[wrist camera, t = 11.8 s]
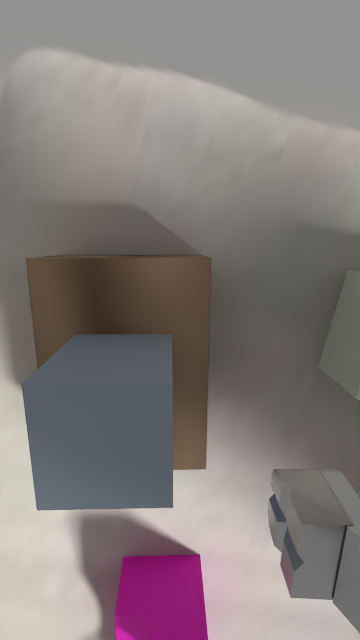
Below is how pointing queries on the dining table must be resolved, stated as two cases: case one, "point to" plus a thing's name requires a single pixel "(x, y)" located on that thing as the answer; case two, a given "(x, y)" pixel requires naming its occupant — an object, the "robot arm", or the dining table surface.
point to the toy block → (161, 599)
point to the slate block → (103, 423)
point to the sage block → (345, 338)
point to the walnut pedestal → (134, 321)
